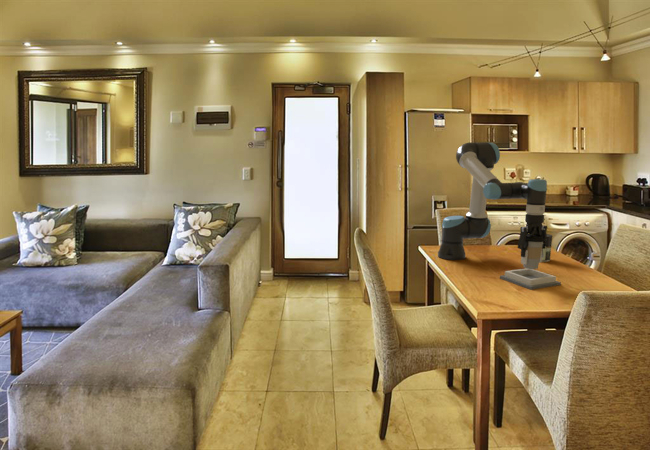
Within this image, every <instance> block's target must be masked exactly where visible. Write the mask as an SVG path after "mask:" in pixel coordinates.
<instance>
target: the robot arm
mask: <svg viewBox="0 0 650 450" xmlns="http://www.w3.org/2000/svg"><path fill="white" fill-rule="evenodd" d="M500 158H501V152H500V148H499V147H498V145H497V144H496V143H495V142H485V141H483V142H482V141H481V142H473V141H472V142H469V141H468V142H465V143H463V144H461V145H460V146H459V147H458V149H457V150H456V153H455V159H456V162H457V164H458V165H459V166H460V167H461V168H463V169H465V170H466V171H467V172H468V173H469V174H470V175H471V176H472V182H471V183H472V184H471V192H470V199H469V200H470V202H469V208H468V209H469V210H468V212H466V214H465V216H463V215H449V216H446V217H444V218H443V220H442V224H441V227H442V230H441V244H440V247H439V250H438V251H437V257H439V258H440V259H443V260H452V261H461V260H464V259H466V251H465V248H464V247H465V246H464V239H482V238H486V237H487V236H489V233H490V232H491V229H492V228H491V227H492V224H491V220H490V219H489V218H488V214H486V207H487V200H517V199H518V200H520V199H521V200H526V207H525V213H526V214H525V219H524V220H525V221H524V222H526V224H525V226H521V227H520V229H519V230H520V234H519V238H518V244H517V249H519V250H520V257H521V258H520V264H521V265H523V264H525V265H526V264H527V257H528V250H527V247H528V245H529V241H525V240H526V236H529V237H533V235H537V236H541V235H542V236H543V238H544V239H545V241H544V242H543V243H544V244H543V245H542V252H541V257H540V260H539V264H541V263H542V262H541V259H542V254H543V249H545V247H547V234H548V233H547V229H548V226H547V225H544V222H545V209H546V202H547V200H546V199H547V192H548V182H547V180H546V179H539V178H537V179H534V178H530V179H529V180H528V182H523V181H516V182H515V181H514V182H502V181H501V180H500V179H499V178H497V177H496V175H495V174H493V172H491V171H492V170H493V169H495V168H494V166H495V165H496V164H498V163H499V161H500Z"/></svg>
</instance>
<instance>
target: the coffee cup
mask: <svg viewBox="0 0 650 450" xmlns="http://www.w3.org/2000/svg"><path fill="white" fill-rule="evenodd" d="M525 241H529V245H528V247H527V250H528V257H527V264H526V265H525V264H522V265H523V266H522V267H523V269H525V268H528V269H534V270H538V268H539V264H540V263H539V260H540V257H541V252H542V245H543V242H544V241H545V239H544V238H543V236H542V235H541V236H537V235H533V237H529V236H526V240H525Z"/></svg>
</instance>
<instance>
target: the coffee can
mask: <svg viewBox="0 0 650 450" xmlns="http://www.w3.org/2000/svg"><path fill="white" fill-rule="evenodd" d="M552 240H553V235H552V234H548V233H547V247H545V249H543V254H542V259H541V263H546V262H550V261H551V254H552V253H551V252H552V242H553V241H552ZM543 244H544V243H543Z"/></svg>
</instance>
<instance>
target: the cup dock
mask: <svg viewBox="0 0 650 450" xmlns="http://www.w3.org/2000/svg"><path fill="white" fill-rule="evenodd" d="M499 279H501V280H503V281H507V282H509V283H511V284H515V285H517V286H519V287H522V288H525V289H528V290H530V291H531V290H537V289H544V288H550V287H557V286H561V285H562V282H561V281H559V280H557V276H556V275H552V274H549V273H547V272H542V271H539V270H538V269H528V268H519V269H512V270H504V275H503V274H502V275H499ZM556 285H557V286H556Z"/></svg>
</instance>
